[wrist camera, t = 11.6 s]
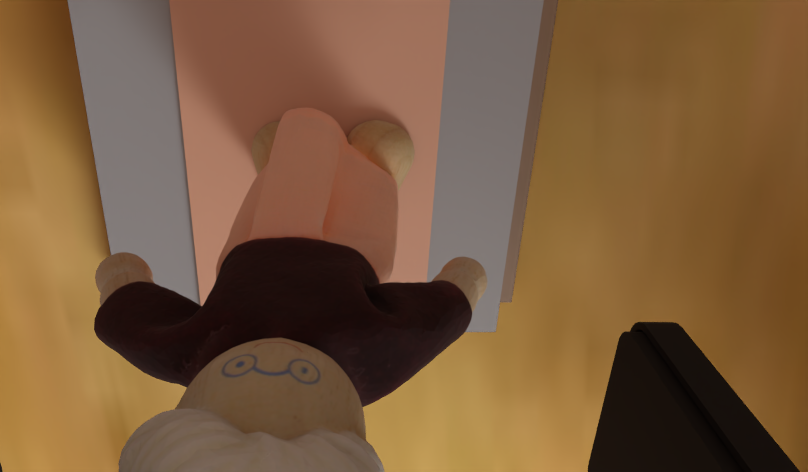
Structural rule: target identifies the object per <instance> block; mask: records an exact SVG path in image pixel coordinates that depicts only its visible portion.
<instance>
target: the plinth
mask: <svg viewBox="0 0 808 472" xmlns="http://www.w3.org/2000/svg"><path fill="white" fill-rule="evenodd" d="M557 5H558V0H68V6H69V12H70V18H71V24H72V30H73V35H74V41H75V47H76V53H77V59H78V65H79V71H80V76H81V82H82V88H83V94H84V100H85V106H86V112H87V117H88V123H89V129H90V135H91V141H92V147H93V153H94V158H95V164H96V170H97V176H98V182H99V188H100V194H101V199H102V205H103V211H104V217H105V223H106V229H107V235H108V240H109V246H110V252H111V255H113V254H116V253H121V252H127V253H132V254H135V255H137V256H139V257H141V258H142V259H143V260H144V261H145V262H146V263H147V264H148V266H149V267H150V269H151V271H152V274H153V281H154V283H155V284H158V285H159V286H162V287H165V288H168V289H169V290H173V291H175V292H177V293H178V294H180V295H182V296H184V297H187V298H189V299H190V300H192V301H194V302H196V303H197V304H199V305H201V306H203V304H204V303H205V301H206V299H207V297H208V295H209V293H210V292H211V290H212V288H213V286H214V284H215V281H216V265H217V262H218V259H219V256H220V254H221V252H222V250H223V248H224V246H225V244H226V242H227V239H228V237H229V234H230V231H231V227H232V225H233V223H234V220H235V218H236V216H237V214H238V211H239V209H240V207H241V205H242V203H243V201H244V199H245V197H246V195H247V193H248V191H249V189H250V187H251V185H252V183H253V181H254V180H255V178H256V177H257V176H258V174H257V171H256V167H255V164H254V161H253V157H252V151H251V149H252V143H253V140H254V137H255V136H256V134H257V133H258V131H259V130H260V129H261V128H263V127H264V126H266V125H267V124H270V123H272V122H276V121H281V118H282V116H283V115H284V113H285V112H286V111H288V110H291V109H296V108H314V109H316V110H319V111H322V112H324V113H326V114H328V115H330V116H331V117H333V118H334V119H335V120H336V121H337V122H338V124H339V125H340V127H341V129H342V130H343V132H344V134H345V136H346V138H347V137H348V135H349V134H350V132H351V131H352V130H353V129H354V128H355V127H357V126H358V125H360V124H362V123H364V122H367V121H372V120H380V121H385V122H389V123H392V124H395V125H397V126H399V127H401V128H402V129H403V130H405V131H406V132H407V133H408V134H409V136H410V138H411V140H412V142H413V145H414V150H415V153H414V160H413V163H412V166H411V168H410V170H409V172H408V174H407V176H406V177H405V179H404V181H403V183H402V185H401V187H400V189H399V191H398V204H399V215H398V233H397V250H396V256H395V261H394V268H393V271H392V274H391V278H390V281H389V282H401V283H406V282H411V283H415V282H431V281H432V280H433V279H434V278H435V277H436V276H437V275H438V274H439V273H440V272H441V270H442V268H443V266H445V265H446V264H447V263H448V262H449V261H450V260H452V259H454V258H456V257H468V258H472V259H474V260H476V261H478V262H479V263H480V264H481V265H482V266H483V268H484V270H485V272H486V276H487V281H488V282H487V287H486V290H485V292H484V294H483V295H482V297H481V298H480V299H479V300H478V302H477V304H476V307H475V309H474V311H473V312H472V318H471V322H470V324H469V326H468V328H467V330H466V331H465V332H496V326H497V319H498V312H499V305H500V302H512V295H513V289H514V282H515V276H516V269H517V263H518V257H519V250H520V244H521V237H522V231H523V224H524V218H525V211H526V205H527V198H528V192H529V185H530V179H531V173H532V166H533V160H534V153H535V147H536V140H537V134H538V127H539V121H540V114H541V108H542V102H543V95H544V89H545V82H546V76H547V69H548V63H549V56H550V50H551V43H552V37H553V30H554V24H555V18H556V11H557Z"/></svg>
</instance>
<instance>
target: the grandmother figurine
mask: <svg viewBox="0 0 808 472" xmlns="http://www.w3.org/2000/svg"><path fill="white" fill-rule="evenodd" d="M251 151H252V157H253V161H254V164H255V167H256V171H257V174H258V176H257V177H256V178H255V180H254V181H253V183H252V185H251V187H250V189H249V191H248V193H247V195H246V197H245V199H244V201H243V203H242V205H241V207H240V209H239V211H238V214H237V216H236V218H235V220H234V223H233V225H232V227H231V231H230V234H229V237H228V239H227V242H226V244H225V246H224V248H223V250H222V252H221V254H220V256H219V259H218V262H217V265H216V281H215V284H214V286H213V288H212V290H211V292H210V293H209V295H208V297H207V299H206V301H205V303H204V304H203V306H201V305H199V304H197V303H196V302H194V301H192V300H190V299H189V298H187V297H184V296H182V295H180V294H178V293H177V292H175V291H173V290H169V289H168V288H165V287H162V286H159V285H158V284H155V283H154V281H153V274H152V271H151V269H150V267H149V266H148V264H147V263H146V262H145V261H144V260H143V259H142V258H141V257H139V256H137V255H135V254H132V253H127V252H121V253H116V254H113V255H111V256H109V257H107V258H106V259H105V260H103V261H102V262H101V263H100V265H99V267H98V268H97V270H96V276H95V278H96V285H97V287H98V290H99V291H100V293H101V295H100V304H101V307H100V308H99V310H98V312H97V315H96V317H95V324H94V330H95V333H96V335H97V337H98V338H99V339H100V340H101V341H102V342H103V343H105V344H106V345H107V346H108V347H110V348H111V349H113V350H115V351H116V352H118V353H119V354H120V355H121V356H122V357H124V358H125V359H126V360H127V361H129V362H130V363H131V364H133V365H134V366H136V367H137V368H138V369H140V370H141V371H143V372H144V373H146V374H148V375H150V376H152V377H155V378H157V379H160V380H163V381H167V382H170V383H176V384H180V385H182V386H185V387H187V389H186V391H185V393H184V395H183V396H182V398H181V400H180V402H179V404H178V405H177V407H176V408H175V410H170V411H166V412H162V413H160V414H158V415H156V416H154V417H153V418H151V419H149V420H148V421H146V422H145V423H144V424H142V425H141V426H140V427H139V428H138V429H137V430H136V431H135V432H134V433H133V434H132V435H131V437H130V438H129V440H128V441H127V443H126V445H125V446H124V448H123V450H122V452H121V456H120V460H119V472H384V468H383V465H382V463H381V461H380V459H379V457H378V456H377V454H376V452H375V450H374V449H373V447H372V446H371V445H370V444H369V443H368V442H367V441H366V432H365V420H364V412H363V408H362V407H364V406H366V405H369V404H371V403H373V402H375V401H377V400H379V399H380V398H382V397H384V396H386V395H388V394H390V393H391V392H393V391H394V390H395V389H397V388H398V387H399V386H401V385H402V384H403V383H405V382H406V381H408V380H409V379H410V378H411V377H413V376H414V375H415V374H416V373H417V372H418V371H420V370H421V369H422V368H423V367H425V366H426V365H427V364H428V363H429V362H431V361H432V360H433V359H434V358H435V357H436V356H437V355H438V354H440V353H441V352H442V351H444V350H445V349H446V348H447V347H448V346H449V345H450V344H452V343H453V342H454V341H456V340H457V339H458V338H459V337H460V336H461V335H462V334H463V333H464V332H465V331H466V330H467V328H468V326H469V324H470V322H471V318H472V312H473V311H474V309H475V307H476V304H477V302H478V300H479V299H480V298H481V297H482V295H483V294H484V292H485V290H486V287H487V282H488V281H487V276H486V272H485V270H484V268H483V266H482V265H481V264H480V263H479V262H478V261H476V260H474V259H472V258H468V257H456V258H454V259H452V260H450V261H449V262H448V263H447V264H446V265H445V266H443V268H442V270H441V272H440V273H439V274H438V275H437V276H436V277H435V278H434V279H433V280H432V281H431V282H415V283H411V282H406V283H401V282H389V281H390V278H391V274H392V271H393V268H394V261H395V256H396V250H397V233H398V215H399V204H398V191H399V189H400V187H401V185H402V183H403V181H404V179H405V177H406V176H407V174H408V172H409V170H410V168H411V166H412V163H413V160H414V153H415V150H414V145H413V142H412V140H411V138H410V136H409V134H408V133H407V132H406V131H405V130H403V129H402V128H401V127H399V126H397V125H395V124H392V123H389V122H385V121H380V120H372V121H367V122H364V123H362V124H360V125H358V126H357V127H355V128H354V129H353V130H352V131H351V132H350V134H349V135H348V137H347V138H346V136H345V134H344V132H343V130H342V129H341V127H340V125H339V124H338V122H337V121H336V120H335V119H334V118H333V117H331V116H330V115H328V114H326V113H324V112H322V111H319V110H316V109H314V108H296V109H291V110H288V111H286V112H285V113H284V115H283V116H282V118H281V121H276V122H272V123H270V124H267V125H266V126H264V127H263V128H261V129H260V130H259V131H258V133H257V134H256V136H255V137H254V140H253V143H252V149H251Z"/></svg>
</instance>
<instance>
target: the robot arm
mask: <svg viewBox="0 0 808 472" xmlns="http://www.w3.org/2000/svg"><path fill="white" fill-rule="evenodd" d="M0 472H2V467H1V464H0ZM588 472H800V471H799V470H798V469H797V467H796V466H795V465H794V464H793V463H792V461H791V460H790V459H789V458H788V456H787V455H786V454H785V453H784V452H783V450H782V449H781V448H780V447H779V445H778V444H777V443H776V442H775V441H774V439H773V438H772V437H771V436H770V434H769V433H768V432H767V431H766V430H765V428H764V427H763V426H762V425H761V423H760V422H759V421H758V420H757V419H756V417H755V416H754V415H753V414H752V412H751V411H750V410H749V409H748V408H747V406H746V405H745V404H744V403H743V401H742V400H741V399H740V398H739V397H738V395H737V394H736V393H735V392H734V390H733V389H732V388H731V387H730V386H729V384H728V383H727V382H726V381H725V379H724V378H723V377H722V376H721V375H720V373H719V372H718V371H717V370H716V368H715V367H714V366H713V365H712V364H711V362H710V361H709V360H708V359H707V357H706V356H705V355H704V354H703V353H702V351H701V350H700V349H699V348H698V346H697V345H696V344H695V343H694V342H693V340H692V339H691V338H690V337H689V335H688V334H687V333H686V332H685V331H684V329H683V328H682V327H681V326H680V325H679V324H677V323H673V322H638V323H635V324H634V325H633V327H632V328H631V331H630V332H624V333H622V334H621V336H620V338H619V341H618V345H617V350H616V354H615V358H614V362H613V366H612V370H611V374H610V378H609V382H608V386H607V391H606V395H605V399H604V403H603V407H602V411H601V415H600V419H599V423H598V427H597V432H596V436H595V440H594V444H593V448H592V452H591V456H590V460H589V465H588Z"/></svg>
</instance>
